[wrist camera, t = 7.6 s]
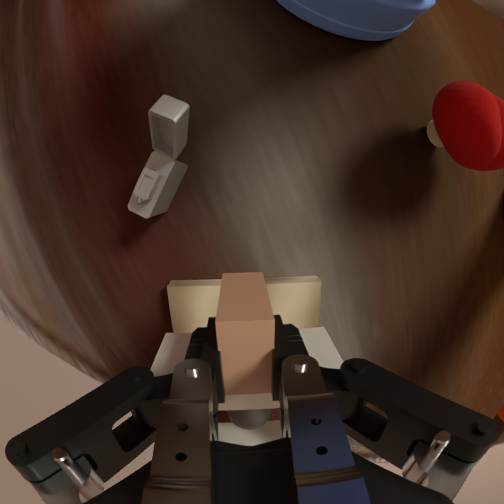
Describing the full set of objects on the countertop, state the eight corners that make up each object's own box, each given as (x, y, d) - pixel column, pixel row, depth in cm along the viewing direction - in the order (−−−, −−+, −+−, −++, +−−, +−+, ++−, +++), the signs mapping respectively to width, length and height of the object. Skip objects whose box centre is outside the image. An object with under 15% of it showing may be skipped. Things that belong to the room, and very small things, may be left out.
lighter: (165, 213, 21) (125, 228, 13) (147, 204, 20) (99, 214, 13) (207, 132, 19) (187, 100, 12) (187, 123, 19) (159, 90, 11)
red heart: (460, 115, 19) (528, 102, 9) (461, 178, 21) (535, 184, 11) (391, 88, 19) (461, 51, 9) (393, 160, 20) (474, 151, 10)
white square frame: (328, 268, 14) (368, 310, 9) (309, 424, 17) (323, 475, 12) (156, 275, 14) (120, 320, 9) (189, 429, 17) (181, 482, 12)
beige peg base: (316, 275, 22) (365, 334, 13) (307, 386, 25) (331, 460, 15) (171, 280, 22) (128, 342, 12) (189, 390, 25) (173, 467, 15)
